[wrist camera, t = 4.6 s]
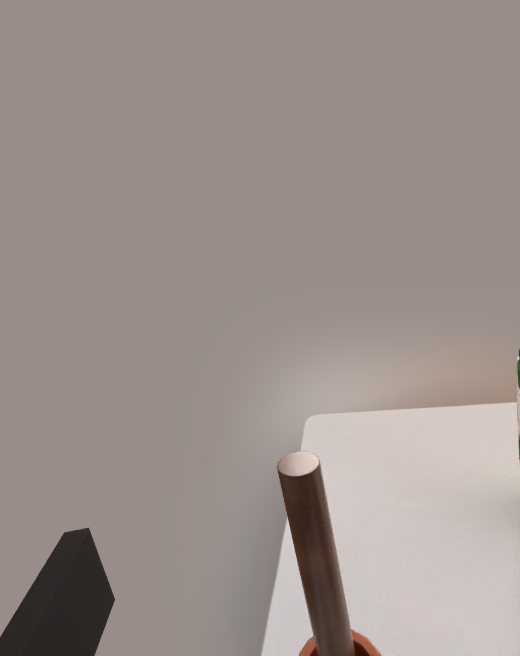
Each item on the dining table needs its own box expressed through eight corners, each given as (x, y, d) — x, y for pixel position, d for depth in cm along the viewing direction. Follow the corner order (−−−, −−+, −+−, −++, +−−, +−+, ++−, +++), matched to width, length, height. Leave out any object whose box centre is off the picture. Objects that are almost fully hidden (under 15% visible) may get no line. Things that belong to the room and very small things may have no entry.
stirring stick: (353, 805, 26) (286, 491, 21) (323, 750, 29) (258, 462, 24) (393, 769, 28) (341, 464, 22) (360, 719, 31) (307, 439, 25)
